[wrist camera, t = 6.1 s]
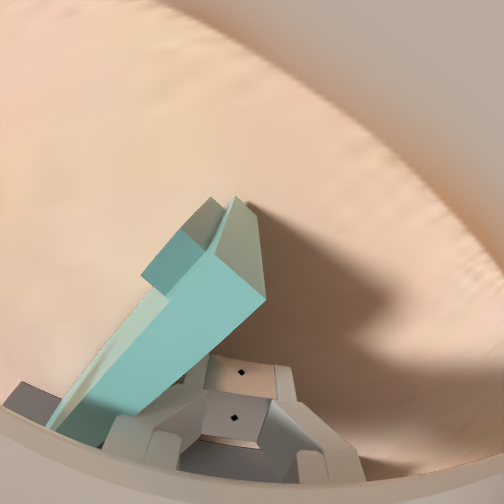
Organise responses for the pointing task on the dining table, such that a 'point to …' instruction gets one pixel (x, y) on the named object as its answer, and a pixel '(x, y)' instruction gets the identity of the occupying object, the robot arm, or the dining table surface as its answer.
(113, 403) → the side door
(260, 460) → the block
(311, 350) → the dining table surface
